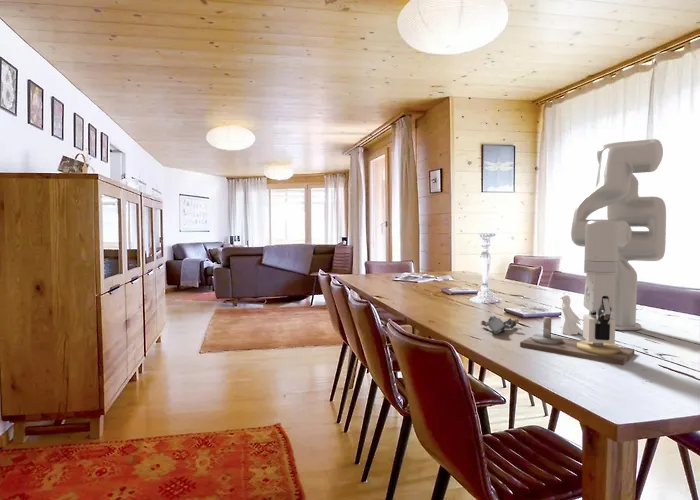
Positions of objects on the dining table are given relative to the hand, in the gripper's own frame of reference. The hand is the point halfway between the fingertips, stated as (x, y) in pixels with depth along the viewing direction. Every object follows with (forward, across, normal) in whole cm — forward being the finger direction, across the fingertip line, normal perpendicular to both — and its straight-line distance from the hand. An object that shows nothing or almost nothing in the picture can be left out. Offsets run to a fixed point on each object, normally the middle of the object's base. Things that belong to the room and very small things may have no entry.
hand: (598, 335), depth 118 cm
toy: (+5, -21, -23) cm, 32 cm away
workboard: (+5, -3, -5) cm, 7 cm away
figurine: (+5, -22, -1) cm, 23 cm away
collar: (+1, 0, 0) cm, 1 cm away
